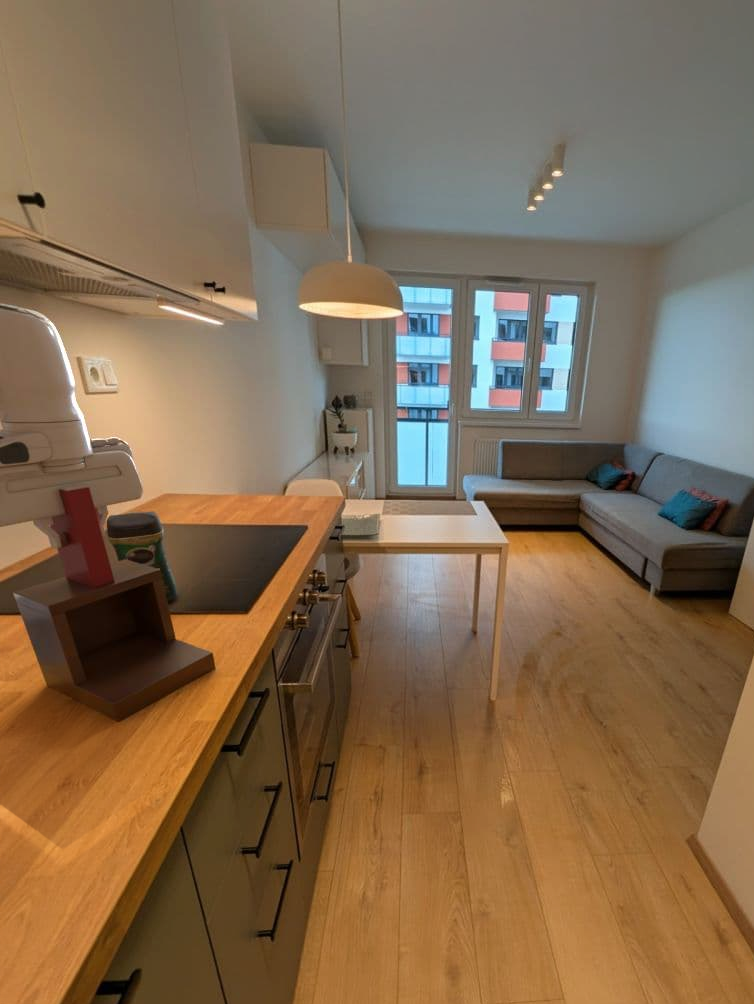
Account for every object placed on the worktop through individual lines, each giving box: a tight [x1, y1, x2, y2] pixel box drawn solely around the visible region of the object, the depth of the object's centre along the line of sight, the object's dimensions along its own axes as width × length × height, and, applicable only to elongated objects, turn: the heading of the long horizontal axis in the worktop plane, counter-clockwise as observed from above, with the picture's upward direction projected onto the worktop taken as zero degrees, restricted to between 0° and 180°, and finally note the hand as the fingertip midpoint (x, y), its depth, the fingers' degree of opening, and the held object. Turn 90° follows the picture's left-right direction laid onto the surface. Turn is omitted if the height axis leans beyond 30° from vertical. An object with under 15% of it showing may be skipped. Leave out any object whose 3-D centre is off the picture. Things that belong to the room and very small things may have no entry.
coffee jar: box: [106, 511, 179, 604], centre depth 102 cm, size 10×8×19 cm
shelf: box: [12, 559, 216, 723], centre depth 77 cm, size 18×16×16 cm
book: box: [49, 485, 114, 588], centre depth 73 cm, size 7×3×14 cm, turn 63°
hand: (79, 542), depth 73 cm, fingers open, 4 cm apart
